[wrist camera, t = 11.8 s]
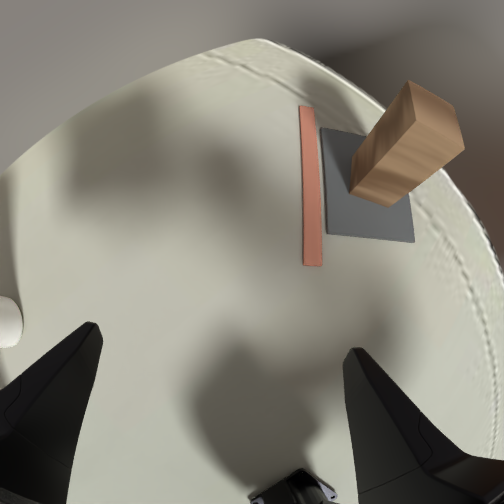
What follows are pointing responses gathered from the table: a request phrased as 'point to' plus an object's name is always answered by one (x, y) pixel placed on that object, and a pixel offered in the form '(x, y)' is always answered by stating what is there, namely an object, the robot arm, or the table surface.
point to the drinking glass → (9, 323)
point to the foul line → (310, 189)
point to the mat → (352, 207)
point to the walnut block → (405, 146)
